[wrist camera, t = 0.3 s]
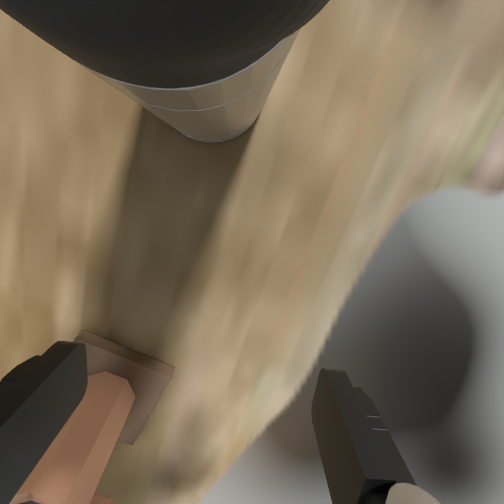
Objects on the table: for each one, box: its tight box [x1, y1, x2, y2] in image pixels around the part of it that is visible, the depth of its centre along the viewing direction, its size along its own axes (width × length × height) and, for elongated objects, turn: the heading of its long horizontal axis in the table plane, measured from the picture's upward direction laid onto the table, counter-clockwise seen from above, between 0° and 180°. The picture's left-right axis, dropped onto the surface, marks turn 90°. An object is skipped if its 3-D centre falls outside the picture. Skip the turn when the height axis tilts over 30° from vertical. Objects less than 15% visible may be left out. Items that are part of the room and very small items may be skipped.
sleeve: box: [9, 371, 136, 504], centre depth 24 cm, size 7×6×11 cm
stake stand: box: [23, 330, 175, 504], centre depth 24 cm, size 10×10×14 cm
